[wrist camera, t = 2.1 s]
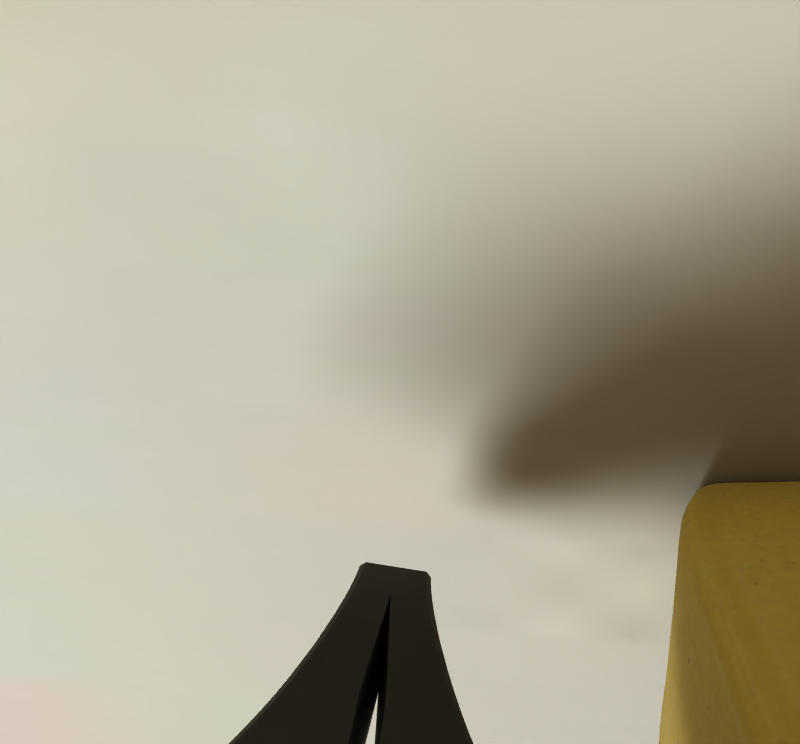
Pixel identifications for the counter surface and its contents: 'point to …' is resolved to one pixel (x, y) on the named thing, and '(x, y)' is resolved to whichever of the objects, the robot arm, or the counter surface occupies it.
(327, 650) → the robot arm
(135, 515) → the counter surface
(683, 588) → the flower pot
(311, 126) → the counter surface
